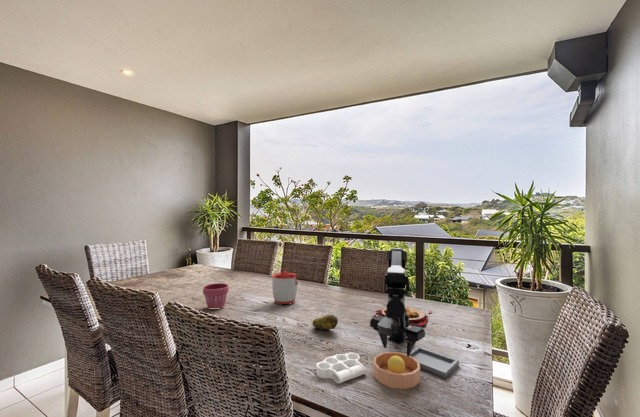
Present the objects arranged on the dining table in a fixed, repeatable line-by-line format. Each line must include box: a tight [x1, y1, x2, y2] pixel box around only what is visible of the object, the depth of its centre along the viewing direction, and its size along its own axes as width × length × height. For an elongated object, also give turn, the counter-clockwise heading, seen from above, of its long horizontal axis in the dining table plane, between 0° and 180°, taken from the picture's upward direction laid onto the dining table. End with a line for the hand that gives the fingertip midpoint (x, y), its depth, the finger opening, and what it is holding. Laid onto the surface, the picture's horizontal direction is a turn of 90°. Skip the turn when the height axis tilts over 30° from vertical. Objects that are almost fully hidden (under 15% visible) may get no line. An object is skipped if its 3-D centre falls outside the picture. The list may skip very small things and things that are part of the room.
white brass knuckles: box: [315, 352, 368, 384], centre depth 111 cm, size 3×18×15 cm
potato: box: [312, 314, 339, 331], centre depth 147 cm, size 8×13×8 cm, turn 36°
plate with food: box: [372, 306, 432, 327], centre depth 167 cm, size 25×26×4 cm
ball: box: [388, 356, 405, 374], centre depth 107 cm, size 6×6×6 cm
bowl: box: [372, 351, 421, 390], centre depth 107 cm, size 16×16×4 cm
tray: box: [410, 346, 460, 379], centre depth 115 cm, size 16×12×2 cm
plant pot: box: [202, 282, 230, 309], centre depth 181 cm, size 14×14×13 cm
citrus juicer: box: [271, 269, 301, 305], centre depth 190 cm, size 16×17×20 cm
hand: (396, 351), depth 107 cm, fingers open, 9 cm apart
